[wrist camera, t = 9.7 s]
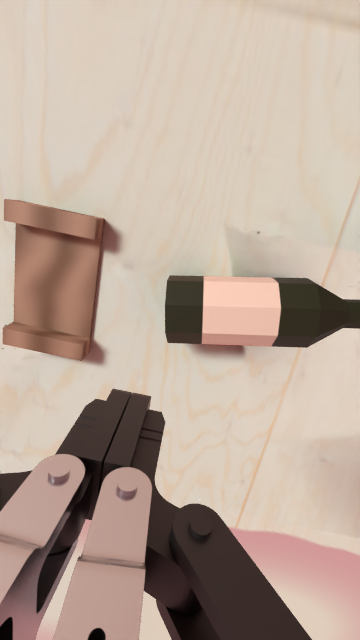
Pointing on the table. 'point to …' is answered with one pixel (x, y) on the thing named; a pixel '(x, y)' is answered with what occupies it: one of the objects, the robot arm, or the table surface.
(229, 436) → the table surface
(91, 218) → the u rest
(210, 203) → the table surface
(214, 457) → the table surface
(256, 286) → the wine bottle
